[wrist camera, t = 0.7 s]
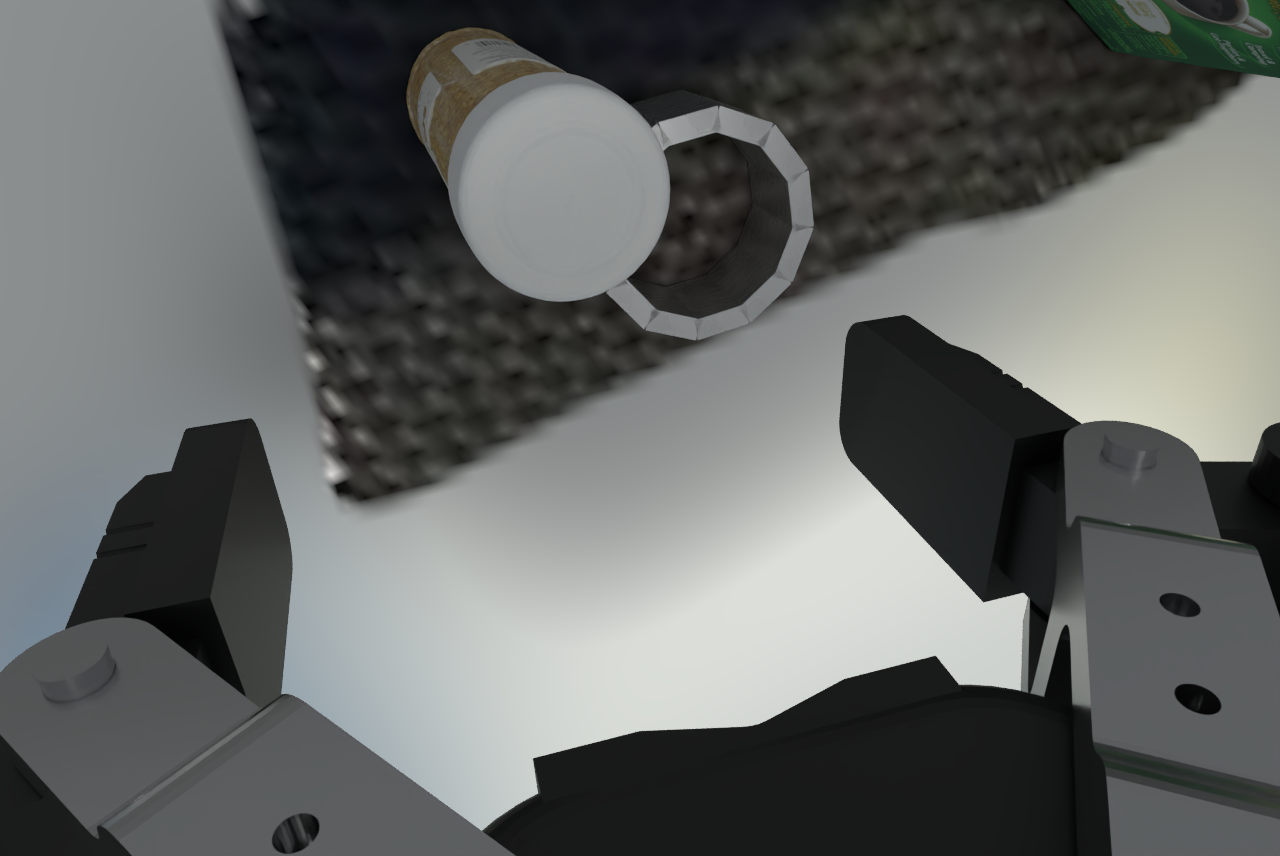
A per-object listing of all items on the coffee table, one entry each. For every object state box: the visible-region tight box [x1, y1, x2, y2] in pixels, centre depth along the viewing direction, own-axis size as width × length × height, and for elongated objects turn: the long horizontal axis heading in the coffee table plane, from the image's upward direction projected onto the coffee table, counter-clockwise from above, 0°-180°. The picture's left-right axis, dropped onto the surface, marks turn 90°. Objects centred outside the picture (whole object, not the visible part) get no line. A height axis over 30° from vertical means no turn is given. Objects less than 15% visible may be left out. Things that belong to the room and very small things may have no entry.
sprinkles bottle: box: [406, 27, 670, 302], centre depth 24 cm, size 5×5×14 cm
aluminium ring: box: [605, 90, 814, 340], centre depth 32 cm, size 8×8×4 cm
